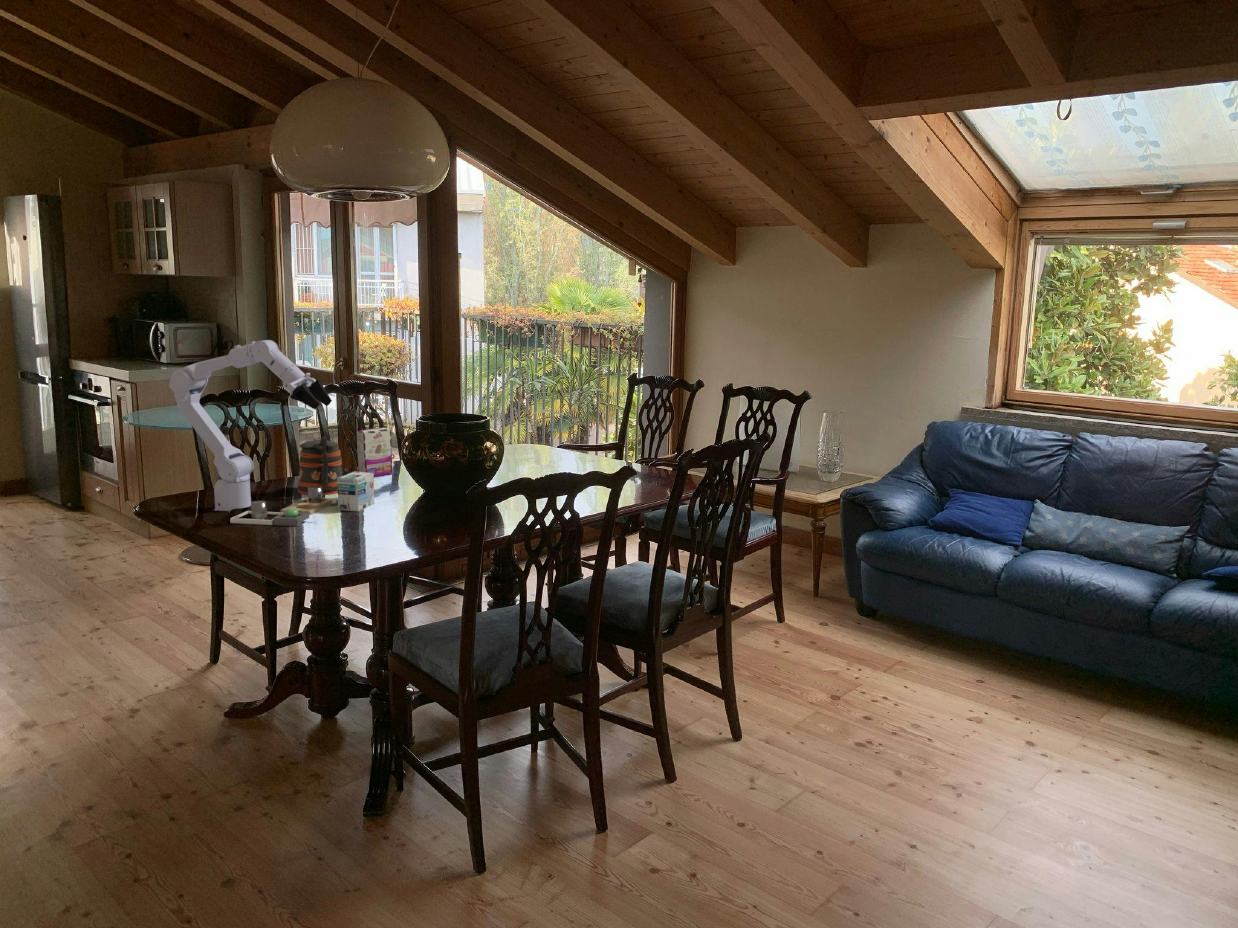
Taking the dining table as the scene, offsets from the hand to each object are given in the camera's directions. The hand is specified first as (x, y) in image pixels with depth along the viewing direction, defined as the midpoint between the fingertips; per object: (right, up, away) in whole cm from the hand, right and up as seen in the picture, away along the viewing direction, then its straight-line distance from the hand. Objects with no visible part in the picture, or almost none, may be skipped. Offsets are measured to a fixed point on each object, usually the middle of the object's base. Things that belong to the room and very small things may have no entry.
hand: (323, 405), depth 265 cm
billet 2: (-6, -29, +13) cm, 32 cm away
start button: (-7, -32, -6) cm, 33 cm away
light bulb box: (+6, -31, +11) cm, 33 cm away
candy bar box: (-1, -21, +62) cm, 65 cm away
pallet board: (-7, -31, +9) cm, 33 cm away
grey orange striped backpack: (-9, -27, +30) cm, 41 cm away
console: (-7, -34, -6) cm, 35 cm away
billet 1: (-17, -33, -4) cm, 37 cm away
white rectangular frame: (-17, -33, -4) cm, 37 cm away
